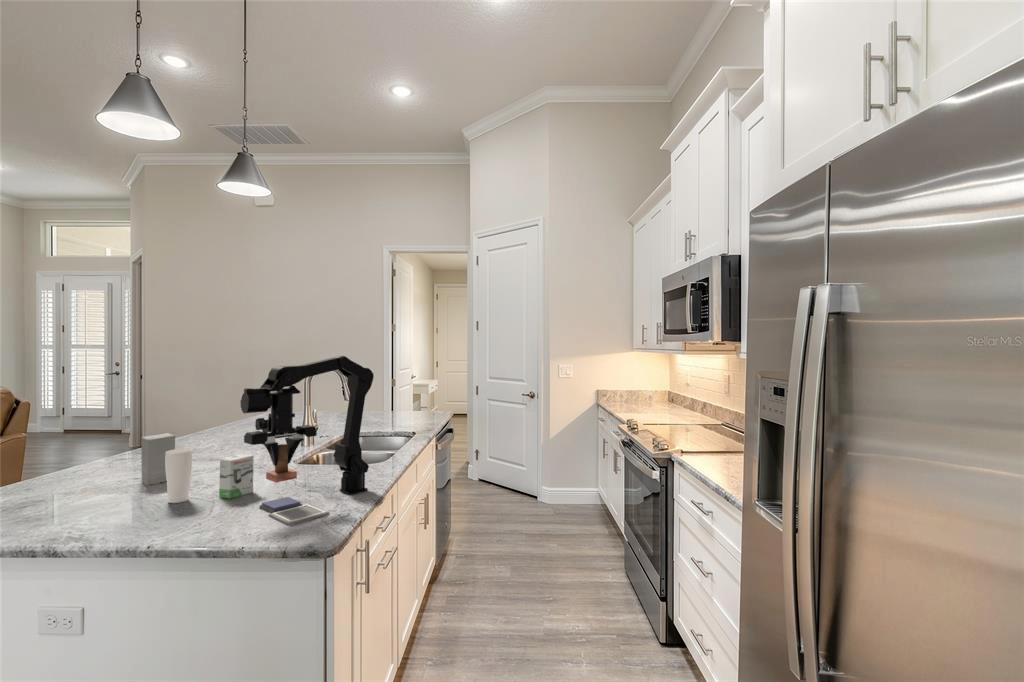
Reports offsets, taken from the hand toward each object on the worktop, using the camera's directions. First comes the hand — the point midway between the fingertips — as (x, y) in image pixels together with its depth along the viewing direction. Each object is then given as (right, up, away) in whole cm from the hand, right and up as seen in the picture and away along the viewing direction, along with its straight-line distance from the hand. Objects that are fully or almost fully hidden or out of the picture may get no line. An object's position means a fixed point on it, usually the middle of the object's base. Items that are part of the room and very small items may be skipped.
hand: (281, 464), depth 146 cm
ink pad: (0, -12, 0) cm, 12 cm away
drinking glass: (-33, -13, +5) cm, 36 cm away
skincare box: (-54, -13, +27) cm, 62 cm away
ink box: (-20, -13, +12) cm, 26 cm away
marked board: (+8, -12, -7) cm, 16 cm away
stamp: (0, -4, 0) cm, 4 cm away
